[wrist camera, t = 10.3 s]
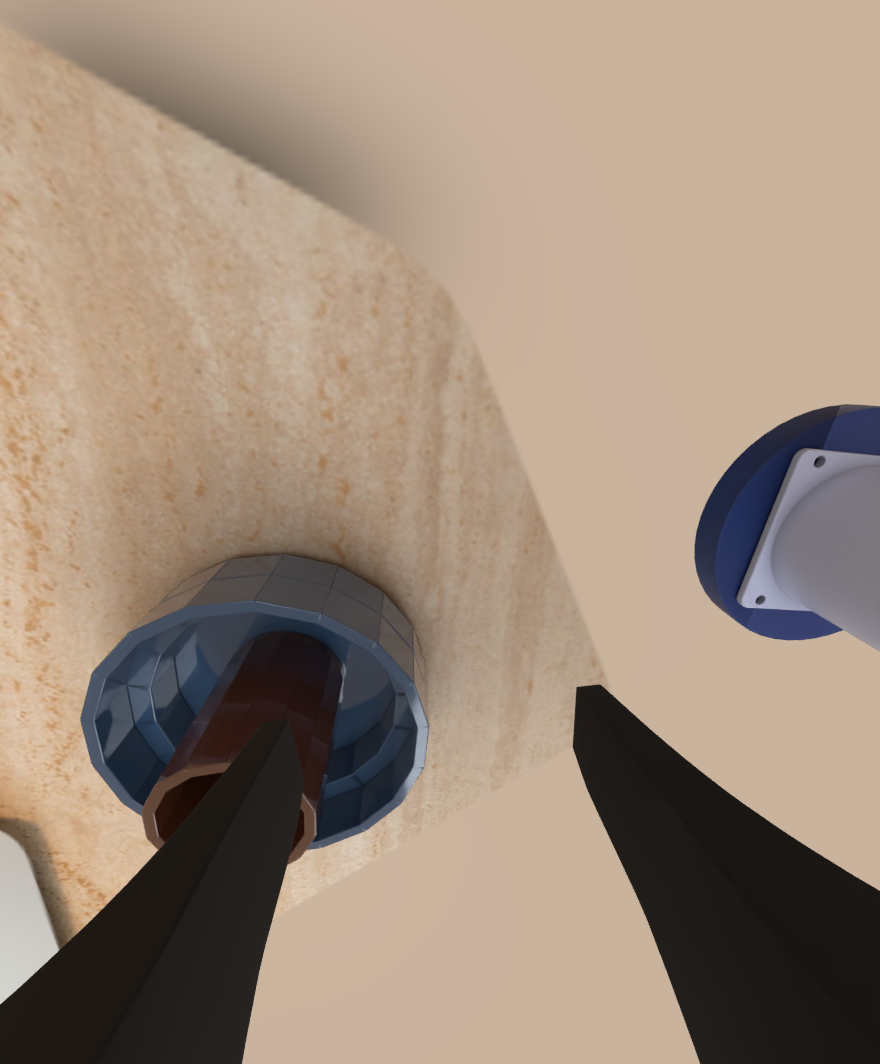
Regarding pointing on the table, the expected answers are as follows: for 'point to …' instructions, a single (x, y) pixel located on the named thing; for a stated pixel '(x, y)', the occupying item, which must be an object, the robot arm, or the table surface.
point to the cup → (236, 714)
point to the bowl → (207, 647)
